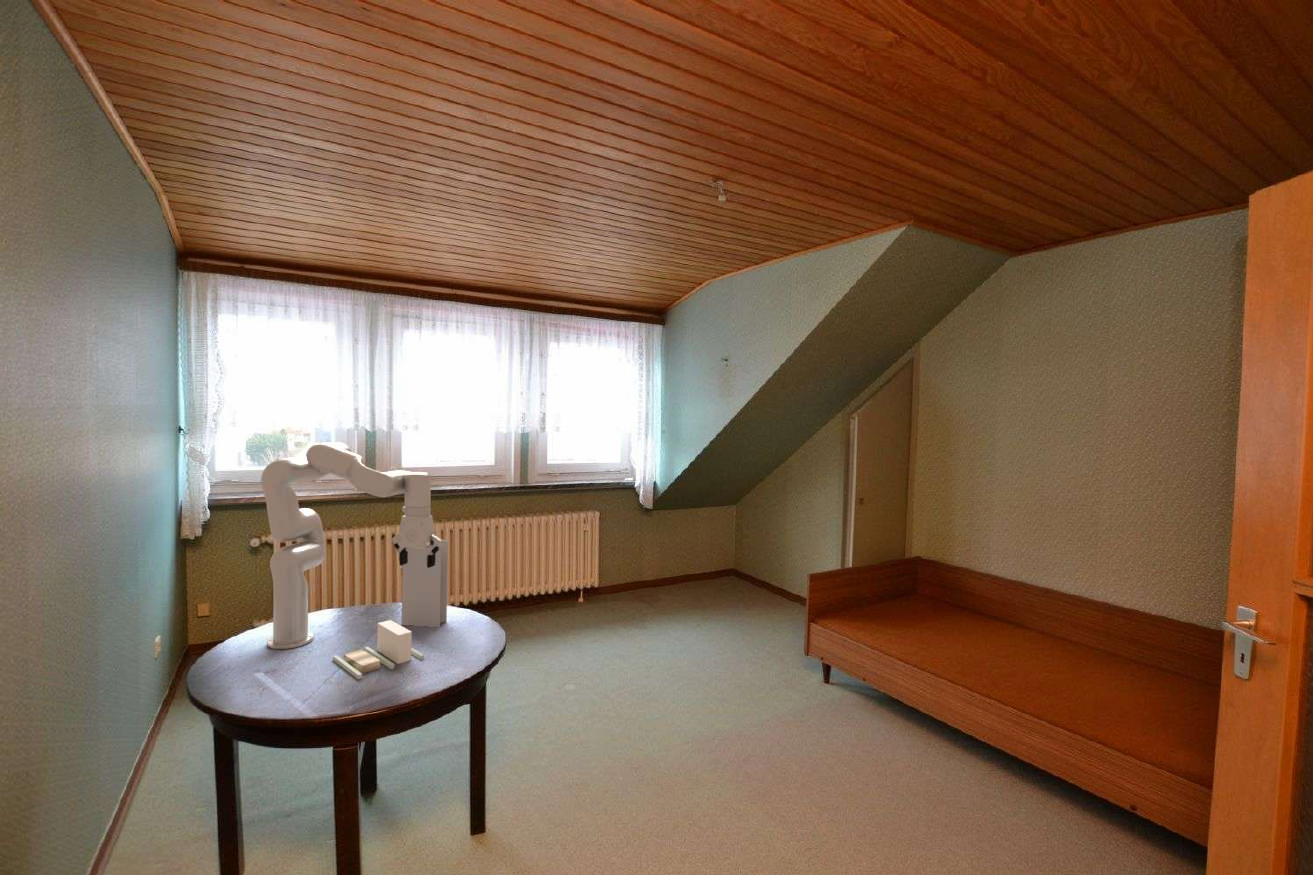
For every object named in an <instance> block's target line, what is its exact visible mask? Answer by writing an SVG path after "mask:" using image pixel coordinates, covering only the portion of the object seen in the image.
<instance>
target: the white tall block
mask: <svg viewBox="0 0 1313 875" xmlns="http://www.w3.org/2000/svg"><path fill="white" fill-rule="evenodd" d="M442 540H443V544H442V546H441V548H440V549H439V550H438V551H437V553H436V554H435V565H434V566H433V567H430V568H428V567H427V555H429V553H428V552H427V551H426V549H410V548H407V549H406V551H407V552H408V563H407V564H404V565H401V566H402V567H401V572H402V573H401V613H400V614H401V617H400V619H401V621H400V622H401V624H400V625H401V626H409V625H413V626H412V627H423V626H428V627H427V628H438V627H439V628H440V627H441V625H440V624H442V622H445V623H447V622H448V621H447V620H448V619H447V617H448V614H447V612H448V571H449V570H448V569H449V568H448V566H449V562H448V561H449V560H448V558H449V540H448V539H442ZM435 546H436V542H434V547H435Z"/></svg>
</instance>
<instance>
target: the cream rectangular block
mask: <svg viewBox="0 0 1313 875" xmlns="http://www.w3.org/2000/svg"><path fill="white" fill-rule="evenodd" d="M412 634H413V632H412V631H411V630H410V629H408V628H406V627H404V626H403V625H401V624H399V623H397V622H395V621H394V620H391V619H389V620H385V621H380V622H378V623H377V637H376V638H377V639H376V641H377V643H376V645H377V646H376V650H377V651H376V652H379V654H380V653H381V655H382V656H383V655H384V656H385V657H387V659H389V660H391V661H393V663H396V664H398V665H400V664H402V663H406V662H409V661H412V654H411V647H413V645H412V642H413V641H412V638H413V635H412Z"/></svg>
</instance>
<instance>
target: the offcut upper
mask: <svg viewBox="0 0 1313 875" xmlns="http://www.w3.org/2000/svg"><path fill="white" fill-rule="evenodd" d="M343 660H344V661H345V662H347V663H348V664H349V665H351V666H353V667H354V668H356V669H357V670H359V671H361V672H362V674H365V673H364V672H366V673H368V672H367V671H369V672H371V671H370V670H372V671H374V670H373V669H375V670H377V669H376V668H378V669H380V668H381V662H380V660H379V659H377V658H376V657H374V656H372V655H370V654H369V653H367V652H365V650H363V649H362V648H360V649H356V650H353V651H350V652H347V653H343Z"/></svg>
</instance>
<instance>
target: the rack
mask: <svg viewBox="0 0 1313 875" xmlns="http://www.w3.org/2000/svg"><path fill="white" fill-rule="evenodd" d="M364 651H365V652H367V653H369V654H370V655H372V656H374V657H376V658H377V659H379V660H380V664H382V665H384V666H386V667H387V668H388V669H389V670H393V669H395V662H392V660H391V661H390V659H388V658H386V657H384V656H383V655H382V654H380V653H378V651H375V650H374V649H372V648H371V647H369V646H365V647H364ZM332 656H333V657H332V661H334V662H335V663H336V664H337V665H339V666H340V667H341V668H342V669H344V670H346V671H347V672H348V673H350V675H352V676H353V677H354V678H355V679H357V680H361V679H363V673H362V674H361V673H360V672H359V671H357V670H356V669H355V668H353V667H352V666H351V665H349V664H348V663H347V662H345V661H344V658H341V657H340V656H339V655H338V654H337V655H332ZM411 656H414V657H416V658H417V659H419V660H422V661H423V660H425V654H423V653H422V652H420V651H419V650H416V648H413V646H411Z"/></svg>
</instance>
